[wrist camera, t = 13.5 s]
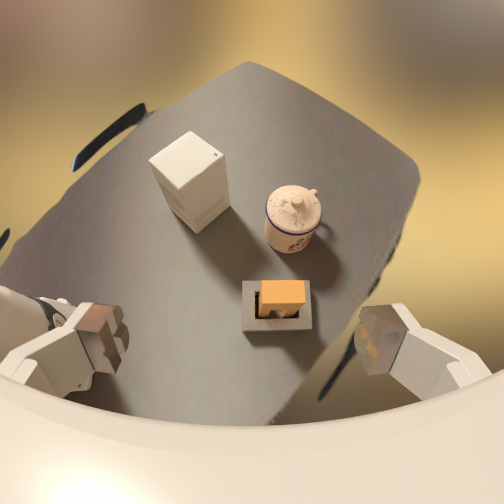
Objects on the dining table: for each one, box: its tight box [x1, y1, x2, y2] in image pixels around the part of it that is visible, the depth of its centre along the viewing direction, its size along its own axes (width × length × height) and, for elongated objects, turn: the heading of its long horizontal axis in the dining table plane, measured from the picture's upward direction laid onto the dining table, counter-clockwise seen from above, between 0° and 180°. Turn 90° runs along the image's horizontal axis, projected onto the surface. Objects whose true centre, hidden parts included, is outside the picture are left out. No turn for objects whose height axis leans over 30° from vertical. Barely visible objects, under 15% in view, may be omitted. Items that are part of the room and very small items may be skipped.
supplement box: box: [148, 131, 230, 234], centre depth 47 cm, size 9×9×15 cm
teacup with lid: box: [264, 185, 322, 253], centre depth 47 cm, size 12×9×12 cm
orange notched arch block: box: [258, 280, 305, 317], centre depth 41 cm, size 6×3×12 cm, turn 90°
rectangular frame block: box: [242, 280, 312, 332], centre depth 45 cm, size 8×11×3 cm
